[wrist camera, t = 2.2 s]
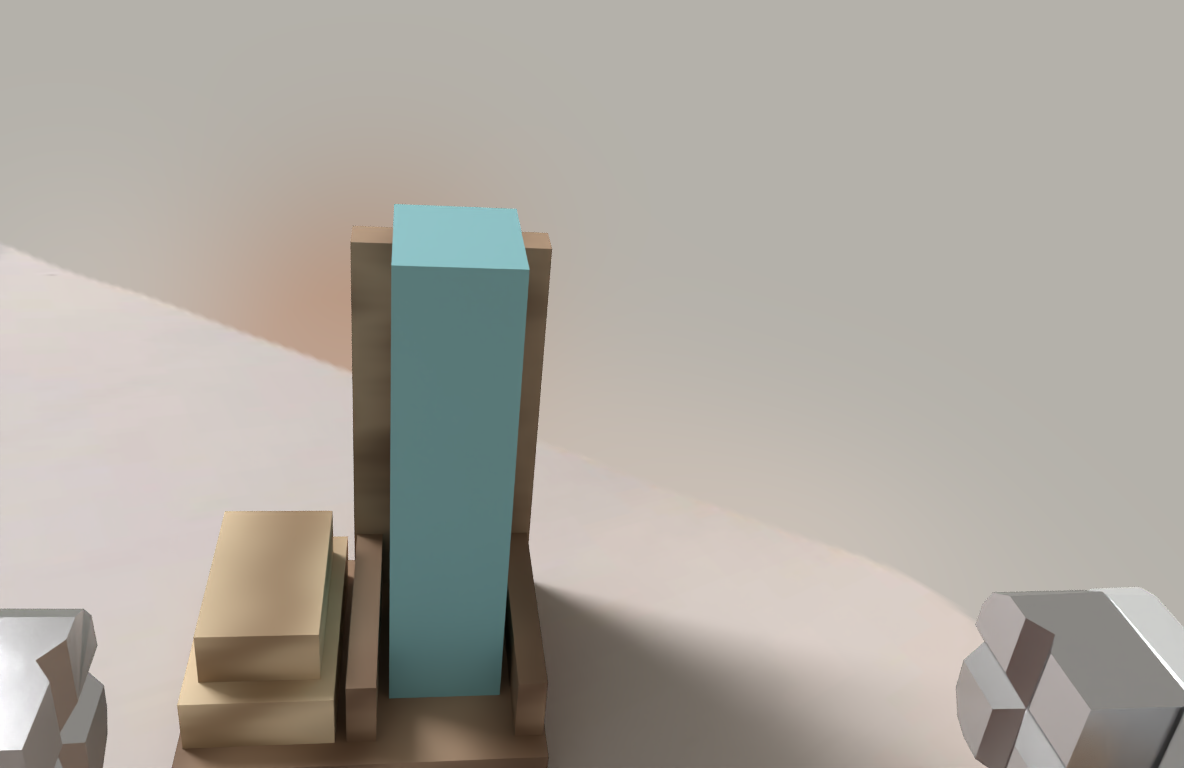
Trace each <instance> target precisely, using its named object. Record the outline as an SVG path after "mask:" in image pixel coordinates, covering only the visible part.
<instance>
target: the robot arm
mask: <svg viewBox="0 0 1184 768" xmlns="http://www.w3.org/2000/svg"><path fill="white" fill-rule="evenodd" d="M975 625H976V627H977V629H978V631H979V633H980V635H981V637H982V638H983V640H984V643H983V644H981V645H980V646H979V647H978V648H977V649H976V650H975V651H974V652H972V653H971V654H970V655H969V656H968V657H967V658H966V659H964V660H963V664H962V667H961V671H960V675H959V678H958V682H957V685H956V699H957V716H958V720H959V723H960V726H961V730H962V733H963V736H964V738H965V740H966V742H967V744H968V746H969V748H970V750H971V752H972V754H973V755H974V757H975V759H977V760H978V761H979V762H981V763H982V764H984V765H985V766H986V767H988V768H1184V627H1183V626H1182V625H1181V624H1180V623H1179V622H1178V620H1177V619H1176V618H1175V617H1174V616H1173V615H1172V614H1171V613H1170V611H1169V610H1168V609H1167V608H1166V607H1165V606H1164V605H1163V604H1162V602H1161V601H1160V600H1159V599H1158V598H1157V597H1156V596H1155V595H1154V594H1152V593H1150V592H1148V591H1146V590H1145V589H1143V588H1141V587H1125V588H1101V589H1100V588H1098V589H1090V590H1088V591H1087V590H1070V591H1030V592H994V593H992V595H990V596H989V598H988V599H987V600H986V601H985V602H984V603H983V605H982V607H981V610H980V613H979V616H978V619H977V622H976V624H975ZM96 648H97V641H96V636H95V631H94V626H93V621H92V616H91V615H90V614H89V613H88V612H87V611H85V610H84V609H0V768H103V763H104V755H105V748H106V741H107V704H106V697H105V690H104V685H103V684H102V683H101V682H99V681H98V680H97V679H96V678H95V677H94V676H92V675H91V674H90V673H89V672H88V671H89V668H90V666H91V663H92V660H93V657H94V654H95V651H96Z"/></svg>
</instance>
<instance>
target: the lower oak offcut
mask: <svg viewBox="0 0 1184 768" xmlns="http://www.w3.org/2000/svg"><path fill="white" fill-rule="evenodd" d="M347 586H348V537H333V561H332V571H331V580H330V590H329V600H328V609H327V619H326V629H325V639H324V648H323V658H322V668H321V677H320V679H311V680H276V681H241V682H207V683H198V676H197V666H196V657H195V647H194V640H193V644H192V648H191V652H190V656H189V660H188V664H187V668H186V672H185V676H184V680H183V684H182V688H181V692H180V696H179V700H178V704H177V708H178V716H179V724H180V733H181V741H182V749H187V748H214V747H240V746H266V745H293V744H319V743H335V732H336V720H337V707H338V695H339V683H340V671H341V659H342V647H343V634H344V622H345V610H346V598H347Z"/></svg>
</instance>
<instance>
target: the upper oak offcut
mask: <svg viewBox="0 0 1184 768" xmlns="http://www.w3.org/2000/svg"><path fill="white" fill-rule="evenodd" d="M332 561H333V516H332V511H225V513H224V517H223V521H222V525H221V529H220V533H219V537H218V541H217V545H216V549H215V553H214V557H213V561H212V565H211V569H210V573H209V577H208V581H207V585H206V589H205V593H204V597H203V601H202V605H201V609H200V613H199V617H198V621H197V625H196V629H195V633H194V637H193V638H194V647H195V657H196V666H197V676H198V683H207V682H241V681H276V680H311V679H320V677H321V668H322V658H323V648H324V639H325V629H326V619H327V609H328V600H329V590H330V580H331V571H332Z"/></svg>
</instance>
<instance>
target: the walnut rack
mask: <svg viewBox="0 0 1184 768" xmlns="http://www.w3.org/2000/svg"><path fill="white" fill-rule="evenodd" d="M522 237H523V242H524V246H525V251H526V256H527V260H528V265H529V269H530V270H529V284H528V299H527V313H526V327H525V341H524V356H523V370H522V384H521V398H520V412H519V427H518V441H517V455H516V469H515V484H514V498H513V512H512V526H511V540H510V555H509V569H508V583H507V597H506V611H505V626H504V640H503V654H502V668H501V683H500V695H482V696H451V697H419V698H389V624H390V434H391V263H392V242H393V227H366V226H353V228H352V235H351V305H352V306H351V307H352V382H353V454H354V527H355V560H348V586H347V598H346V610H345V622H344V634H343V647H342V659H341V671H340V683H339V695H338V707H337V720H336V732H335V743H319V744H293V745H266V746H240V747H214V748H187V749H182V741H181V733H180V736H179V740H178V744H177V748H176V752H175V756H174V761H173V765H172V768H547V766H548V750H547V742H546V734H545V727H544V717H545V707H546V697H547V687H548V680H547V673H546V666H545V659H544V651H543V644H542V637H541V630H540V623H539V616H538V609H537V602H536V594H535V587H534V580H533V573H532V566H531V559H530V552H529V544H528V542H529V530H530V517H531V505H532V492H533V480H534V467H535V455H536V442H537V430H538V417H539V405H540V392H541V380H542V367H543V355H544V343H545V330H546V318H547V305H548V293H549V292H548V291H549V280H550V268H551V254H552V247H551V243H550V239H549V236H548V233H534V232H522Z"/></svg>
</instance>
